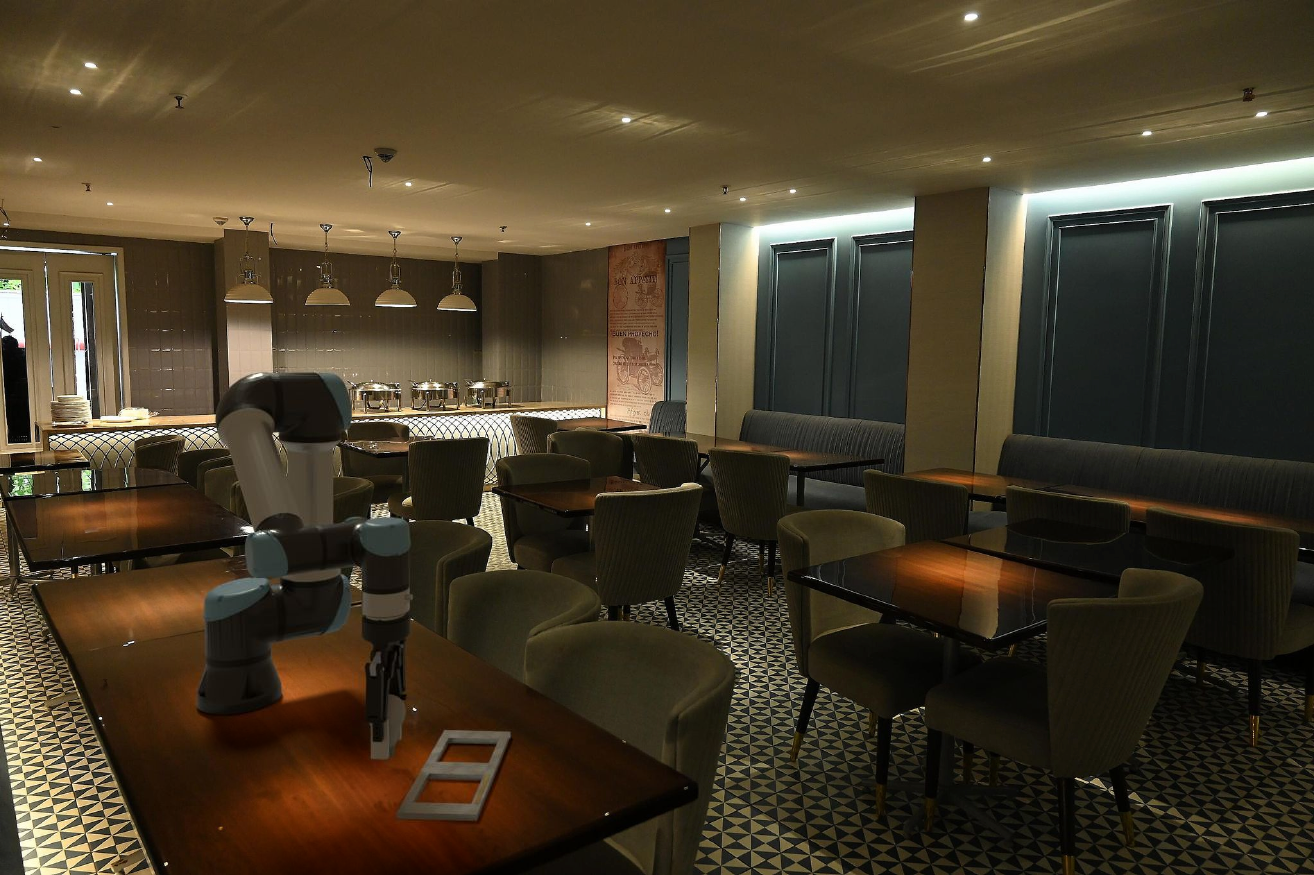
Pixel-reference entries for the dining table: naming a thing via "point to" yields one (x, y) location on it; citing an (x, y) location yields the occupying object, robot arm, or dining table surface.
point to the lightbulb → (394, 720)
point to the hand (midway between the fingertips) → (386, 747)
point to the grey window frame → (455, 777)
